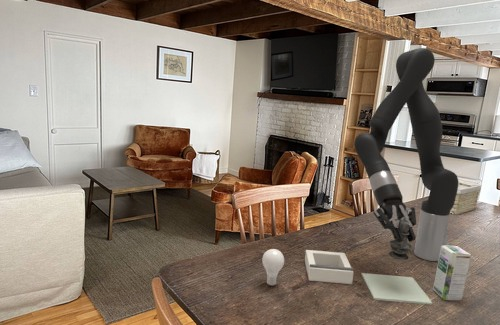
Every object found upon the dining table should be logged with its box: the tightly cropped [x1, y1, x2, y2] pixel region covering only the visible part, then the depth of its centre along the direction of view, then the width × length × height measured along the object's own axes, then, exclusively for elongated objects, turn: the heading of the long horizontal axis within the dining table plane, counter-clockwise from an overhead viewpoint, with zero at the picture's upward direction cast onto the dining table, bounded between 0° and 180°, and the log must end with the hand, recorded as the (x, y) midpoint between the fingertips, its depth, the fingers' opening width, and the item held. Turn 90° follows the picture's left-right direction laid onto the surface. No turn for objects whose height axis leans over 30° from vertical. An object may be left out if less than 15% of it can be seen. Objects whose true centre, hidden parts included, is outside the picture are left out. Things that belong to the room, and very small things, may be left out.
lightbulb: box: [261, 248, 285, 286], centre depth 101 cm, size 6×6×11 cm
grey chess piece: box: [388, 217, 412, 261], centre depth 101 cm, size 6×6×12 cm
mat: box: [361, 272, 433, 306], centre depth 104 cm, size 16×14×1 cm
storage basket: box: [450, 179, 482, 216], centre depth 191 cm, size 24×16×15 cm
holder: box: [304, 249, 354, 285], centre depth 111 cm, size 13×13×5 cm
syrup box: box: [432, 244, 472, 301], centre depth 101 cm, size 6×6×14 cm
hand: (406, 241), depth 99 cm, fingers closed on grey chess piece, 3 cm apart
